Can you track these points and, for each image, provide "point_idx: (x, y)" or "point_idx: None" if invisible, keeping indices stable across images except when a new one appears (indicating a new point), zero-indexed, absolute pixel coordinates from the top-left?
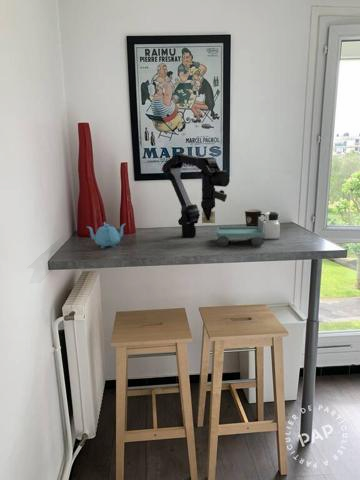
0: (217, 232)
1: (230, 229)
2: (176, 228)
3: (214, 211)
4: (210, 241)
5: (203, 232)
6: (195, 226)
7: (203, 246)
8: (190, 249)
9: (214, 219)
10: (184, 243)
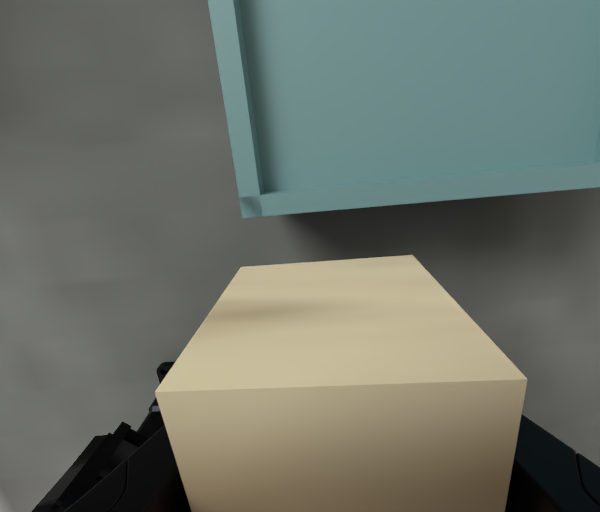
0: (573, 186)
1: (261, 27)
2: (21, 474)
3: (374, 396)
4: (346, 241)
5: (72, 314)
6: (157, 411)
7: (499, 279)
8: (570, 352)
9: (434, 285)
10: None
